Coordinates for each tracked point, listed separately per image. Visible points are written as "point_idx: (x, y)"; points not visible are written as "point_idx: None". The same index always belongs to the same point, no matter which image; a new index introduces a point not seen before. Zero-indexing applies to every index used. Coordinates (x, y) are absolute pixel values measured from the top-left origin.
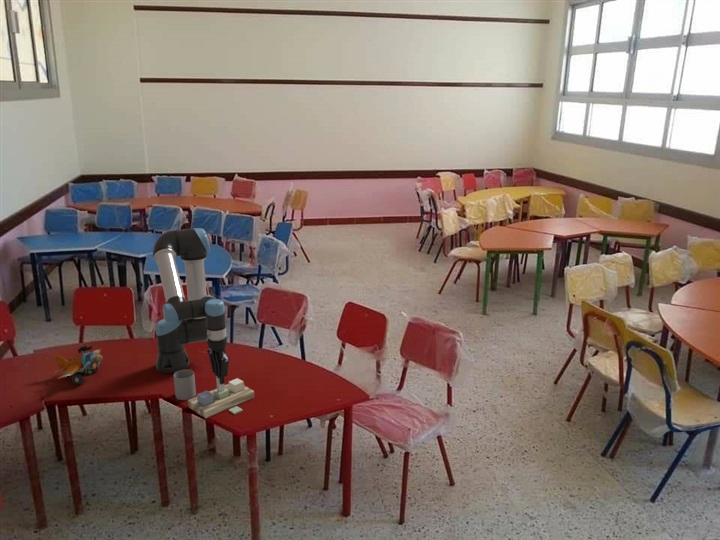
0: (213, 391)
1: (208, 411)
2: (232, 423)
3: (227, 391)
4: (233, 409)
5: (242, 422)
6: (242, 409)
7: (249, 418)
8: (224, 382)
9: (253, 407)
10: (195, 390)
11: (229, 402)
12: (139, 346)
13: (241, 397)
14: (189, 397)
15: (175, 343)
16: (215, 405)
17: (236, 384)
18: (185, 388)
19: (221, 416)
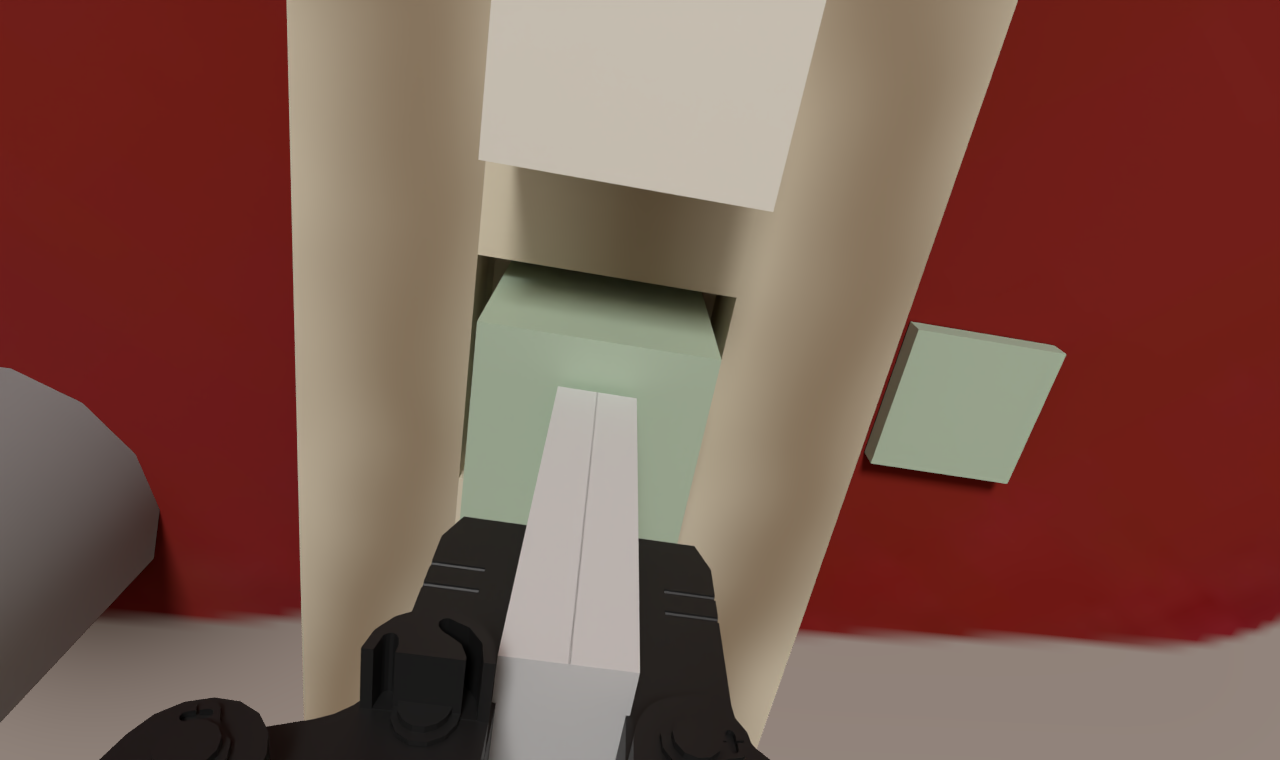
0: (465, 511)
1: (757, 727)
2: (1092, 606)
3: (712, 385)
4: (934, 427)
5: (1204, 535)
6: (1062, 354)
7: (1253, 429)
8: (709, 570)
9: (1166, 174)
10: (33, 445)
11: (856, 444)
12: None
13: (936, 199)
14: (141, 544)
15: None
16: (744, 624)
17: (783, 147)
18: (12, 707)
19: (866, 579)
